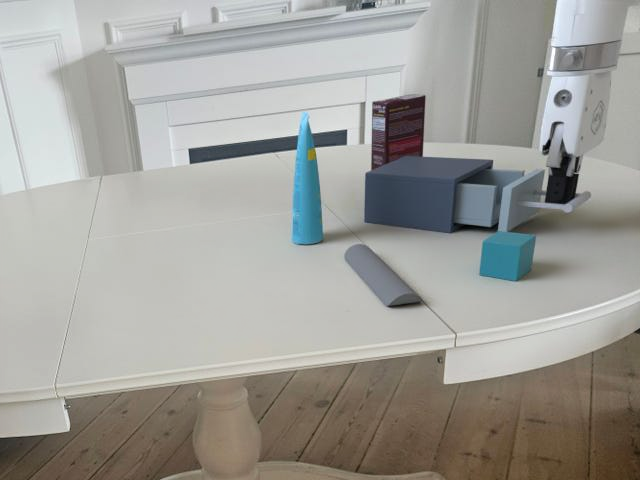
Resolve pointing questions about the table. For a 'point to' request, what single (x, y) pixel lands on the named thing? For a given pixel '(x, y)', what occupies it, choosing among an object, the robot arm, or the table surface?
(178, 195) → the table surface
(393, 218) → the drawer cabinet
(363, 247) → the gray half cylinder
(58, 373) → the table surface
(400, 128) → the supplement box
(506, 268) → the teal box
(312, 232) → the tube
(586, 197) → the drawer
